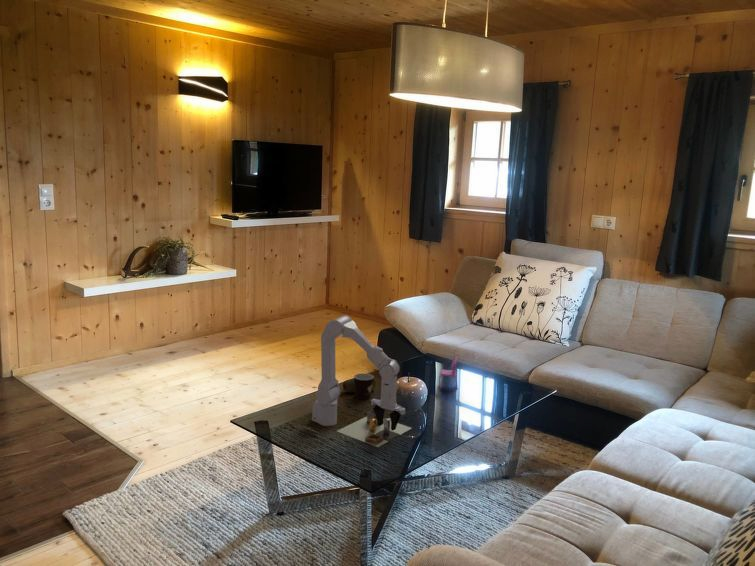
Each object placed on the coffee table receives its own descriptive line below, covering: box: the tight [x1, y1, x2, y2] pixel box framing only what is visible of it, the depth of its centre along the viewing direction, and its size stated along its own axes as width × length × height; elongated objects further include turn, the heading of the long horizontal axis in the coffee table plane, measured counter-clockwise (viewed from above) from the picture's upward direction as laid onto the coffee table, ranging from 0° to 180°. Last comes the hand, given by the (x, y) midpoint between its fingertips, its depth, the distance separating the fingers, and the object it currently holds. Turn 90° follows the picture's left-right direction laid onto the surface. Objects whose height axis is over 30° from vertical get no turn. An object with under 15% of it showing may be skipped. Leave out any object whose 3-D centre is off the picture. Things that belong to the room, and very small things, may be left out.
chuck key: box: [383, 417, 391, 436], centre depth 231 cm, size 2×4×6 cm, turn 142°
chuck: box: [366, 408, 378, 426], centre depth 242 cm, size 6×6×6 cm
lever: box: [369, 418, 376, 432], centre depth 236 cm, size 6×3×4 cm, turn 176°
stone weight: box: [342, 377, 377, 394], centre depth 278 cm, size 15×7×7 cm, turn 122°
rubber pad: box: [376, 430, 401, 442], centre depth 232 cm, size 7×7×1 cm
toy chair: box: [438, 356, 459, 391], centre depth 287 cm, size 8×9×15 cm
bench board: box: [336, 416, 413, 448], centre depth 237 cm, size 20×22×1 cm
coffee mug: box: [353, 372, 375, 400], centre depth 270 cm, size 12×9×10 cm
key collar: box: [365, 433, 384, 445], centre depth 227 cm, size 5×5×2 cm
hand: (387, 427), depth 231 cm, fingers open, 5 cm apart
